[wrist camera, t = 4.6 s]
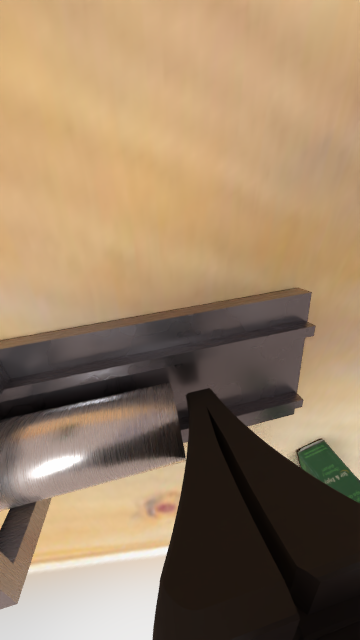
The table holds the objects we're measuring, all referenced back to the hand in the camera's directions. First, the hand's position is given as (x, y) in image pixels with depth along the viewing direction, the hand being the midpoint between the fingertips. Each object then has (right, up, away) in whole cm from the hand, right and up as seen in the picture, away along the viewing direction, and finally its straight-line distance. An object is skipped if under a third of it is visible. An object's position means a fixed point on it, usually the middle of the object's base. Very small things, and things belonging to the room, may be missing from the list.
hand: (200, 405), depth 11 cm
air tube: (-8, -1, 0) cm, 8 cm away
